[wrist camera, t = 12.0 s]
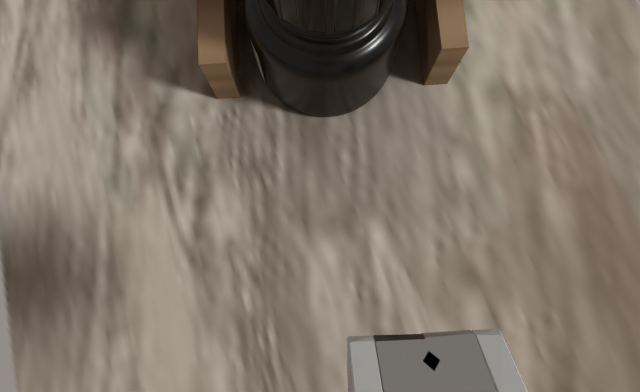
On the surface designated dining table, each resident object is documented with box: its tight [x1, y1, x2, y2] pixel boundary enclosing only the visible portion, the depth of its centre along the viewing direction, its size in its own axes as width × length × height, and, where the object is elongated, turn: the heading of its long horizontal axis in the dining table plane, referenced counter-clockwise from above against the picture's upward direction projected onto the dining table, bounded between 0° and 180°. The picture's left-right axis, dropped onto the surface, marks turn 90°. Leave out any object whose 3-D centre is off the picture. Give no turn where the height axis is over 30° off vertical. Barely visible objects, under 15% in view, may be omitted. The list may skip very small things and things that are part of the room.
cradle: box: [197, 0, 469, 99], centre depth 31 cm, size 8×15×5 cm, turn 94°
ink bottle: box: [244, 0, 408, 117], centre depth 27 cm, size 10×9×12 cm
